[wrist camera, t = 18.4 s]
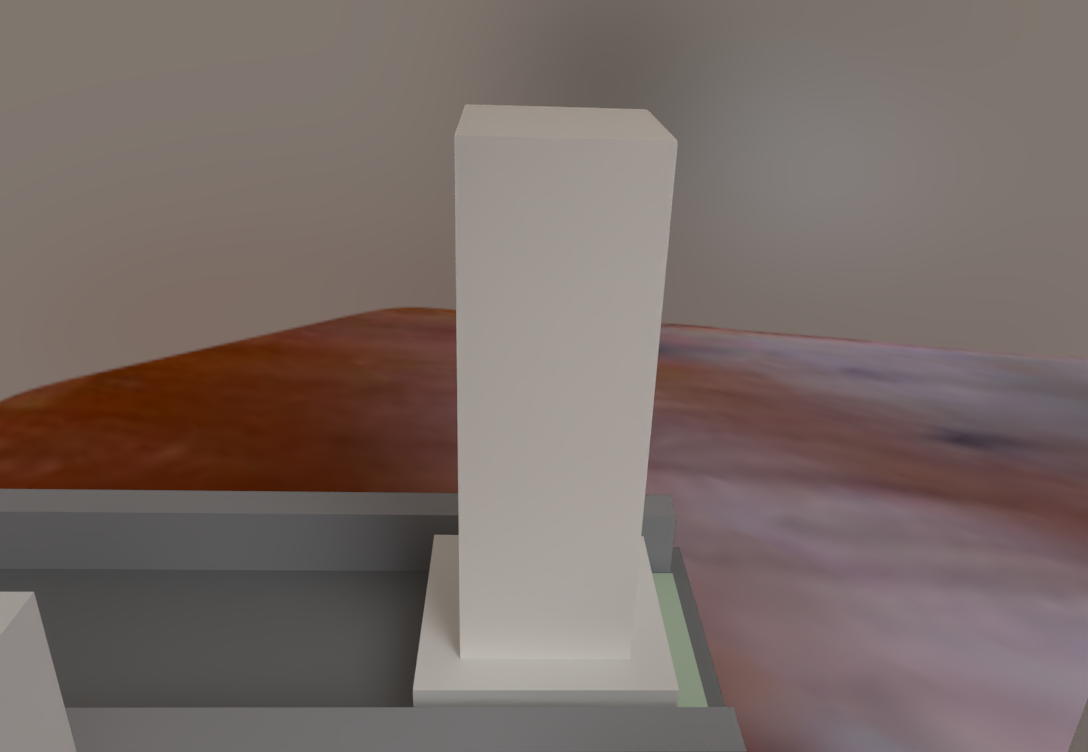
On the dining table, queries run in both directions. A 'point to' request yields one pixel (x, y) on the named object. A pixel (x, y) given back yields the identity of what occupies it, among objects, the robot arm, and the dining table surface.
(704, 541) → the dining table surface
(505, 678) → the switch lever
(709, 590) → the dining table surface
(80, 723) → the switch base
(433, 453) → the dining table surface
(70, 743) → the robot arm
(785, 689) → the dining table surface
